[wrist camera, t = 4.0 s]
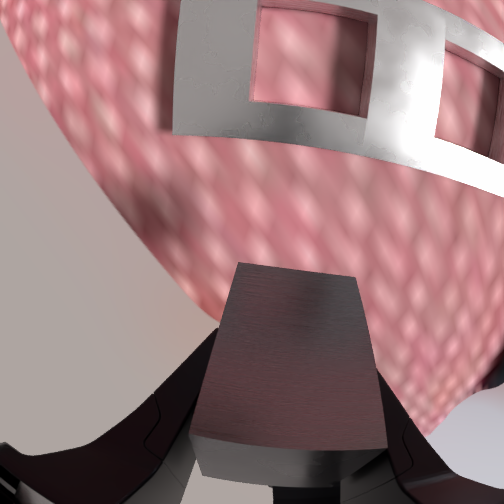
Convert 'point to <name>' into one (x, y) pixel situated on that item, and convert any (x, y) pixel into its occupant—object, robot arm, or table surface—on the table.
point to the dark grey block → (289, 383)
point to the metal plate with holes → (373, 90)
